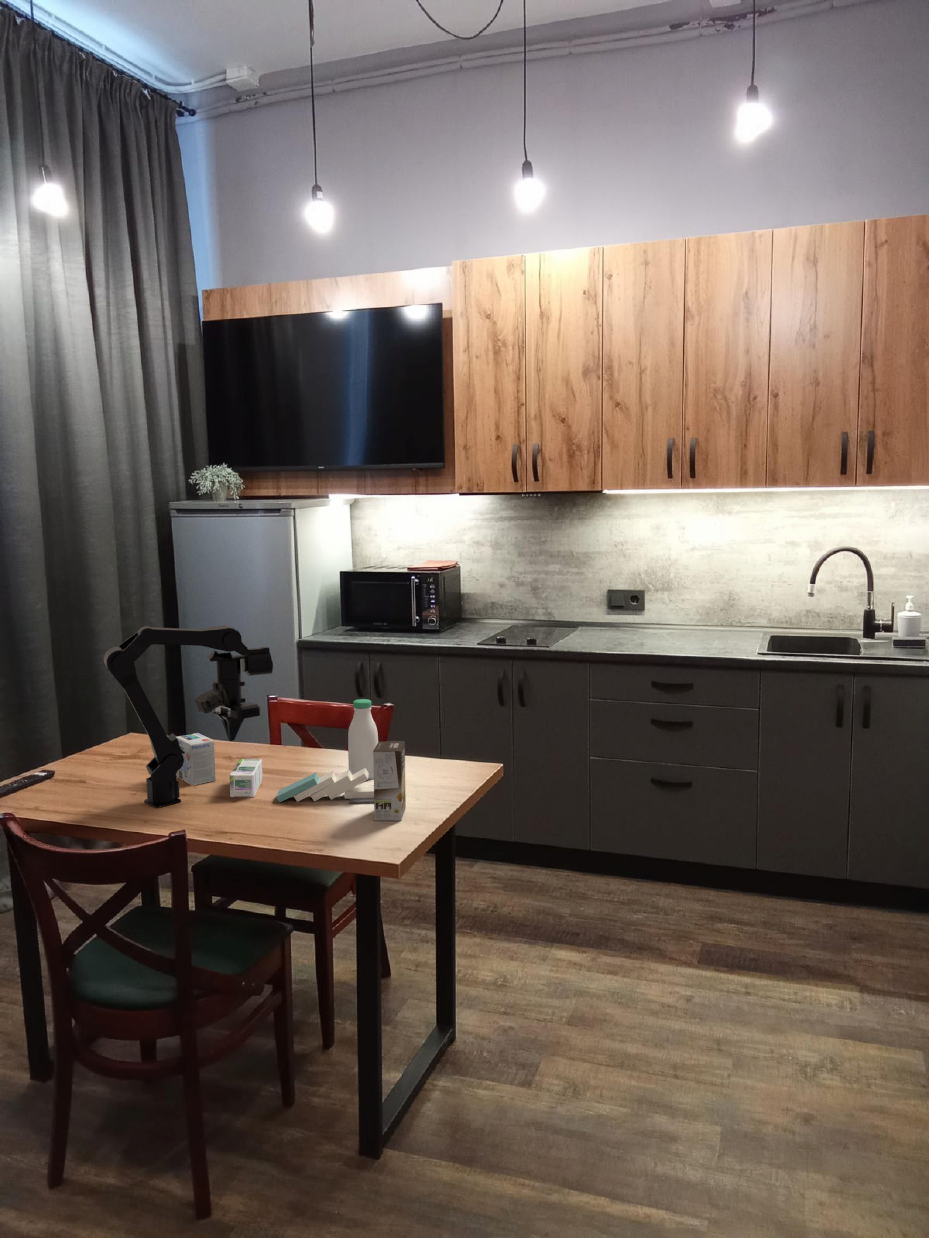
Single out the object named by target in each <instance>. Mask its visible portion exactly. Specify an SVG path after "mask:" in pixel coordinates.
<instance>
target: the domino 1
mask: <svg viewBox="0 0 929 1238" xmlns="http://www.w3.org/2000/svg"><path fill="white" fill-rule="evenodd" d="M319 778H320V776H319V775H318V773H317V772H314V773H312V774H310V775H308V776H306V777H304V778H301V779H299V780H298V781H297V780H296V781H295V782H293V783H291V784H289V785H287V786H285V787H283V788H281V789H279V790H278V791H277V794H276V796H275V797H276V799H277V801H278V803H282V802H283V801H286V800H288V799H290V798H292V797H294V795H296V794H298V793H300V792H302V791H304V790H306V789H309V788H311V787H313V786H315V785H317V784H318V780H319Z"/></svg>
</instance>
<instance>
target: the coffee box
mask: <svg viewBox="0 0 929 1238" xmlns="http://www.w3.org/2000/svg"><path fill="white" fill-rule="evenodd" d="M405 745H406V742H405V740H387V741H378V743H377V745H376V747H375V749H374V750H373V759H374V778H373V785H374V803H373V809H374V813H373V814H374V820H373V821H377V822H378V821H380V822H383V821H384V822H385V821H389V822H390V821H394V822H395V821H397V822H400V821H402V820H403V817H404V813H405V811H406V806H407V805H406V803H407V800H406V799H407V798H406V746H405Z"/></svg>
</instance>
